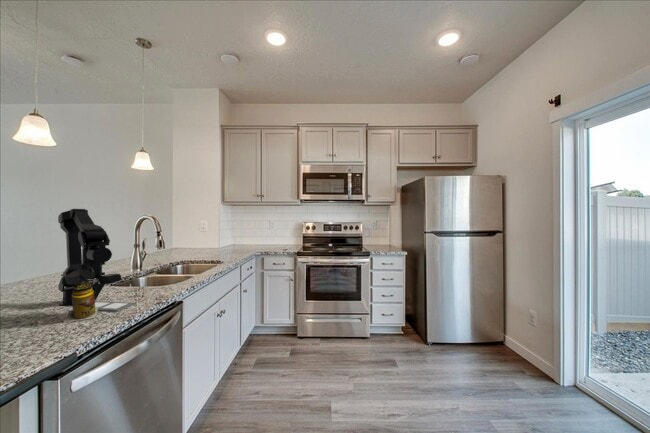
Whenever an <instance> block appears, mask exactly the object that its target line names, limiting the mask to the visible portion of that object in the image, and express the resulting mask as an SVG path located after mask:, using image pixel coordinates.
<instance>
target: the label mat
mask: <svg viewBox="0 0 650 433" xmlns="http://www.w3.org/2000/svg"><path fill="white" fill-rule="evenodd" d="M134 305H136V302H125V301H123V302H121V301H104V300H103V301H102V300H101V301H100V300H98V301H97V300H95V307H98V310H97V312H113V313H114V312H115V313H118V312H120V311H122V310H125V309H127V308H129V307H131V306H134Z"/></svg>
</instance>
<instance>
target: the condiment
mask: <svg viewBox="0 0 650 433" xmlns="http://www.w3.org/2000/svg"><path fill="white" fill-rule="evenodd" d="M95 301H96V300H95V297H94V290H93V288H92V284H91V283H81V284H78V285H75V286H74V287H73V294H72V304H73V306H72V309H70V310H68V312H67V314H66V316H65V319H64V320H63V322H62V323H63V324H65V323H70V322H75V321H77V322H78V321H84V320H89V319H95V318H96V315H97V313H98V311H97V310H98V307H95Z"/></svg>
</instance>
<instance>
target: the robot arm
mask: <svg viewBox="0 0 650 433" xmlns="http://www.w3.org/2000/svg"><path fill="white" fill-rule="evenodd" d="M57 222H58V224H59V226H60V228H61V230H62V231H63V232H64V233H65V239H66V263H67V267H66V268H65V269H64V271H63V272H62V277H61V278H60V280H59V283H58V291H59V292H61V293H62V302H61V303H59V304H58V306H63V307H64V306H67V307H68V306H69V307H73V304H72V294H73V287H74V286H75V285H78V284H81V283H91V284H92V288H93V290H94V297H95V301H97V298H98V297H99V295H100V293H101V292H102V290H103V288H104V287H105V285H111V284H113V283H117V282H120V281H122V275H121V273H108V274H106V272H105V271H103V266H105V265H106V263H107V262H109V261H110V259H112V256H113V252H112V251H111V249H110V248H108V247H106V246H110V242H111V240H110V238H109V235H108V233H107V231H106V230H105V228H103V227H102V226H100V225H97V224H95V222H94V221H93V220H92V218H91V216H90V214H89V211H88V209H86V208H70V209H69V210H67V211H62V212H61V213H59V215H58V218H57Z"/></svg>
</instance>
